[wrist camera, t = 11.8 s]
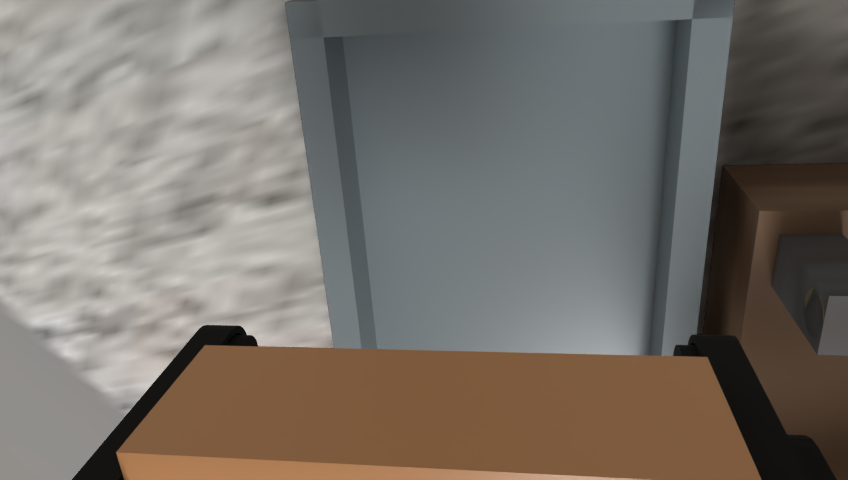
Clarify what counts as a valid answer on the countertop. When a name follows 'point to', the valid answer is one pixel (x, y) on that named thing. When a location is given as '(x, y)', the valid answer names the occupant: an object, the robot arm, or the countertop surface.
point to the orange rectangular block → (437, 418)
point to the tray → (512, 169)
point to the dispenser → (788, 292)
